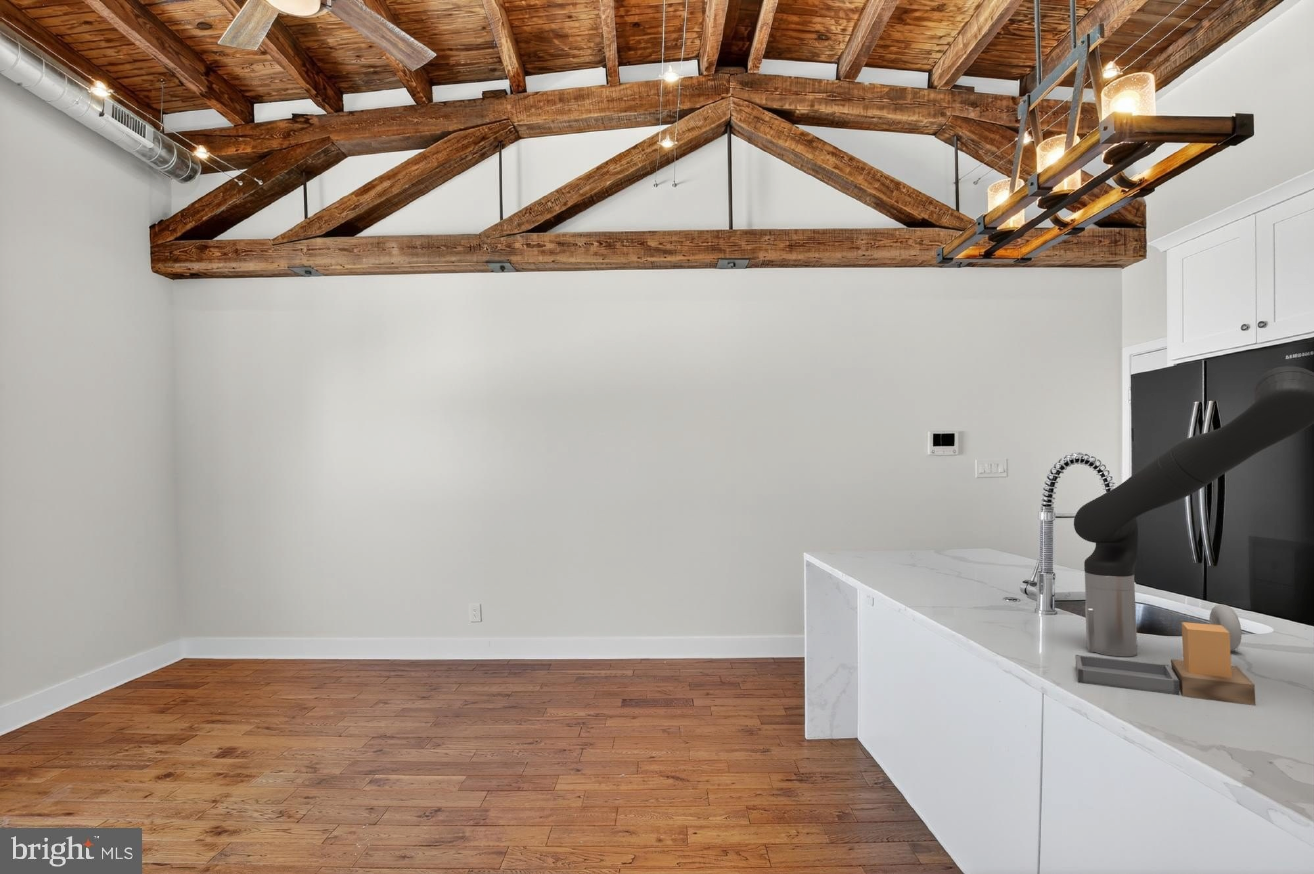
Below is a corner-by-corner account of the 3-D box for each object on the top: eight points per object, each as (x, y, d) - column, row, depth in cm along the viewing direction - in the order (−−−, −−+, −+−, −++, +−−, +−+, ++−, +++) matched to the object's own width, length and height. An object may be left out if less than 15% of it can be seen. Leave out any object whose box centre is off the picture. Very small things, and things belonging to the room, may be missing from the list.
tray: (1078, 682, 130) (1078, 669, 130) (1075, 666, 140) (1075, 654, 140) (1179, 694, 122) (1179, 680, 122) (1169, 677, 132) (1169, 664, 132)
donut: (1207, 643, 155) (1205, 599, 156) (1226, 644, 154) (1224, 600, 154) (1225, 655, 146) (1223, 608, 146) (1245, 656, 145) (1243, 609, 145)
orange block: (1189, 672, 124) (1187, 628, 124) (1183, 664, 129) (1181, 621, 129) (1231, 677, 121) (1229, 632, 121) (1223, 668, 126) (1221, 625, 126)
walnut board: (1183, 696, 122) (1182, 676, 122) (1171, 677, 132) (1171, 659, 132) (1255, 705, 117) (1254, 684, 117) (1237, 684, 127) (1237, 665, 127)
